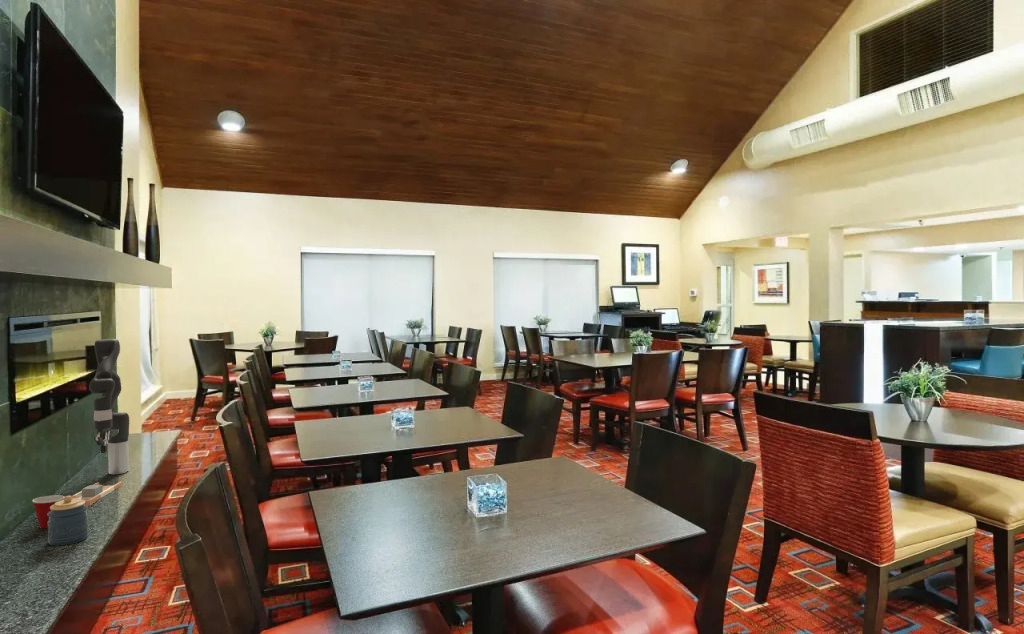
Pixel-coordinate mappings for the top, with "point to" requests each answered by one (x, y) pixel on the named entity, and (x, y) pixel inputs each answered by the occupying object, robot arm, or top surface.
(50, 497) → the plastic cup
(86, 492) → the slate block
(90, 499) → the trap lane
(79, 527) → the canister
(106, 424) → the robot arm
